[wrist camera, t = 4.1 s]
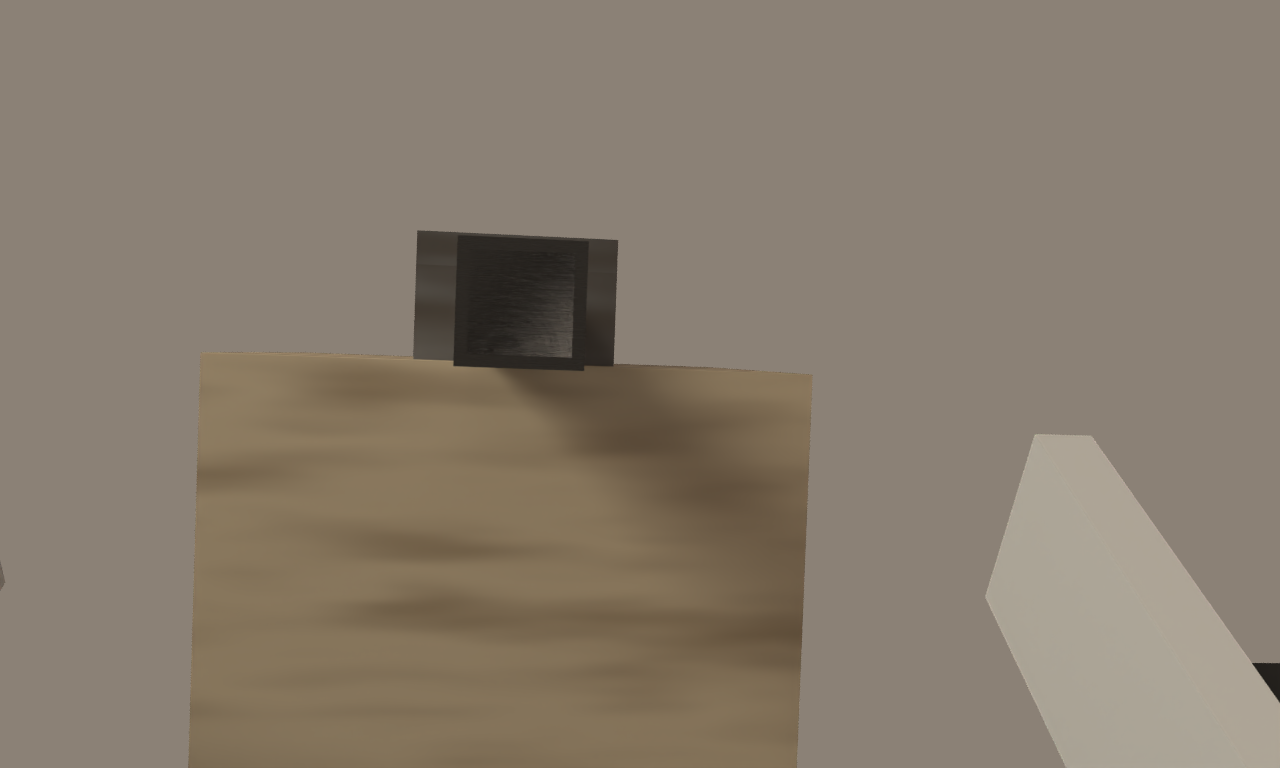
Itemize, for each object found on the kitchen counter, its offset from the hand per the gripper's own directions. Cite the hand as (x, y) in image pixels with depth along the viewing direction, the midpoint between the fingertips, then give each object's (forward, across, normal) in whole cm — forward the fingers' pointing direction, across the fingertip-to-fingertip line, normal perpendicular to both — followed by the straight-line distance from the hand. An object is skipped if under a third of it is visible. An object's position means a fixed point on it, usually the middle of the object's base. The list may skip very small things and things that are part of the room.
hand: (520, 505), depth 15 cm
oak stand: (+14, 0, +44) cm, 47 cm away
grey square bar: (+25, 0, +12) cm, 28 cm away
